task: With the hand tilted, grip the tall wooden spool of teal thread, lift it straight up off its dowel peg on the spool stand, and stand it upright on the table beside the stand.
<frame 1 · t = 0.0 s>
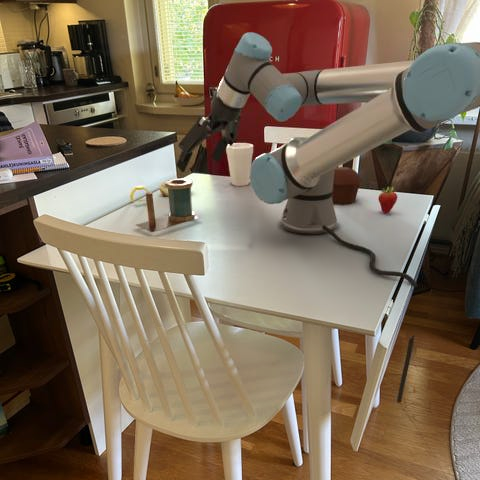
hand: (198, 163, 133), 15 cm above the table, tool tilted 35°, fingers open, 13 cm apart
muffin: (340, 200, 153), on the table
spool stand: (167, 226, 134), on the table
foam cup: (240, 183, 173), on the table
spool: (181, 217, 137), point 1 cm above the table, touching spool stand
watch: (141, 205, 152), on the table
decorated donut: (176, 195, 162), on the table
fruit: (385, 213, 142), on the table
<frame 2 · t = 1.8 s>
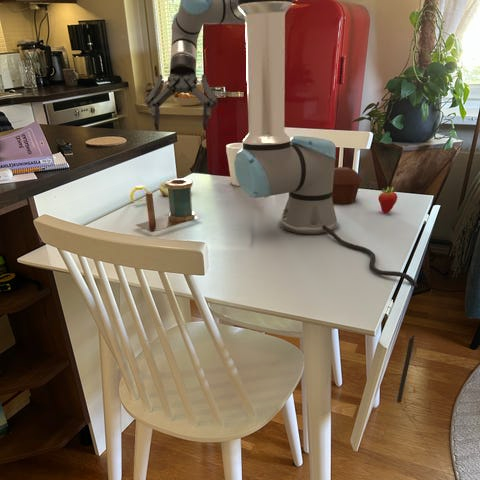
hand: (180, 127, 134), 24 cm above the table, tool tilted 45°, fingers open, 13 cm apart
nothing on the table moved.
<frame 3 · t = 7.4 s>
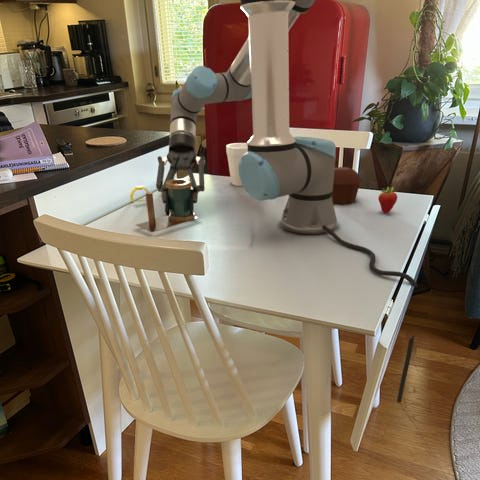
hand: (179, 212, 132), 4 cm above the table, tool tilted 45°, fingers closed on spool, 6 cm apart
spool: (181, 217, 137), point 2 cm above the table, touching gripper, spool stand
everything else where it was.
when the fingers open (2 cm above the table, at t = 16.6 s): spool stays where it is, on the table.
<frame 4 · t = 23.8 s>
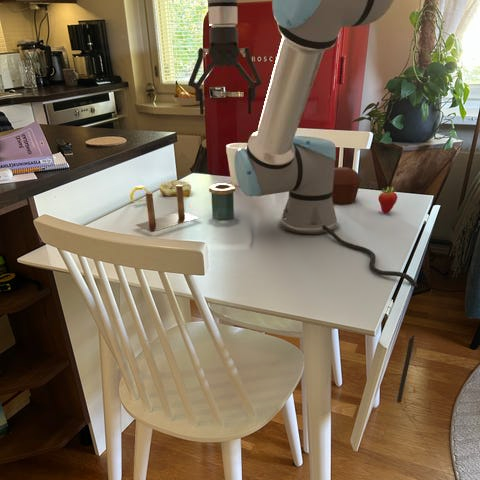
hand: (225, 113, 137), 27 cm above the table, tool pointing down, fingers open, 13 cm apart
spool: (223, 221, 137), on the table
everything else where it was.
at the end: spool inside the target area (0.1 cm from its centre), on the table; spool tilted 0°; the gripper is holding nothing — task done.
